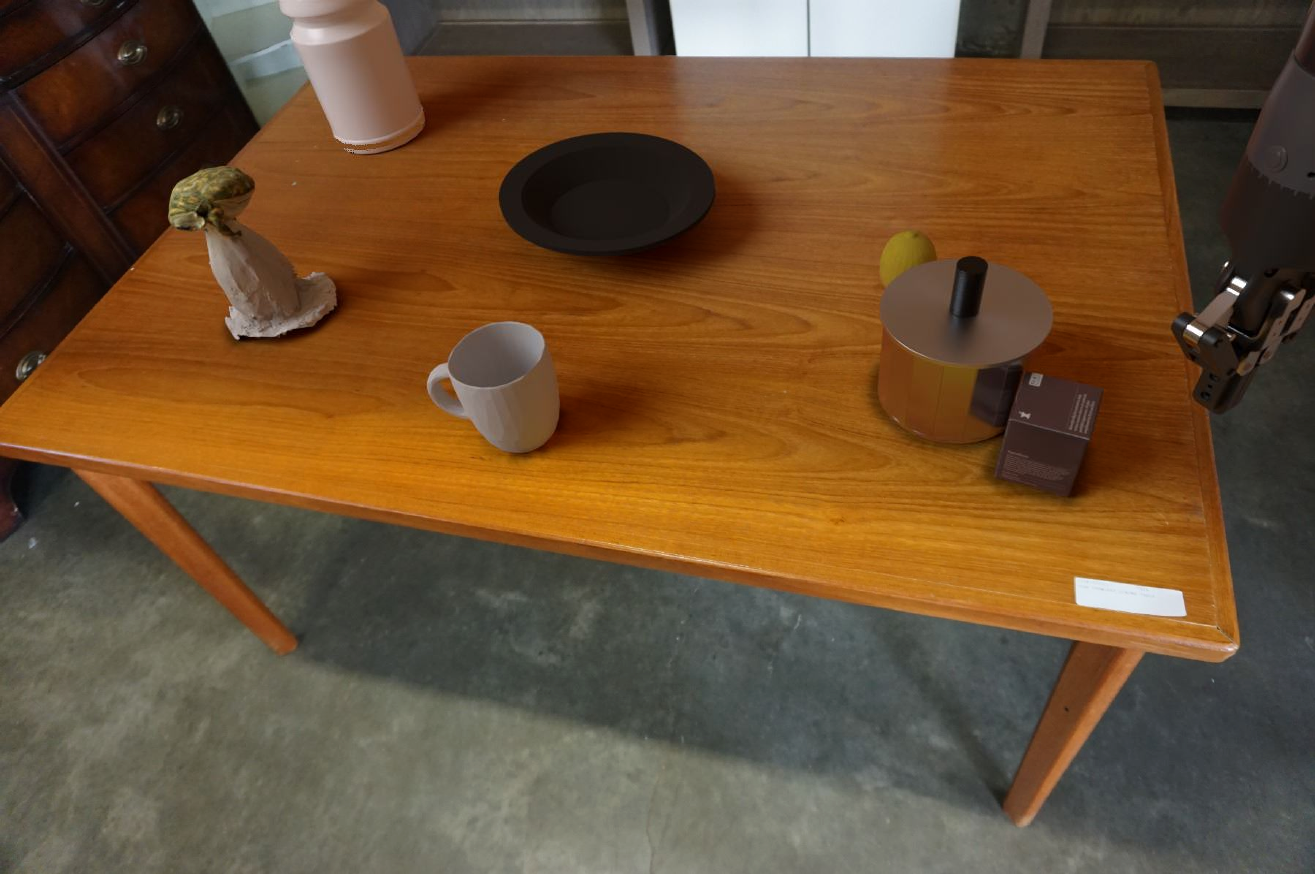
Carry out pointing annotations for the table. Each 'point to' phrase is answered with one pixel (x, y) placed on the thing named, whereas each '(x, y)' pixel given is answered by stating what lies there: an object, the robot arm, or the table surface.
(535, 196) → the plate
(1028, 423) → the box
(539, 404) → the mug
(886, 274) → the lemon
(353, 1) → the bottle
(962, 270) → the pot lid
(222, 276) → the mushroom
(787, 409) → the table surface
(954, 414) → the pot
